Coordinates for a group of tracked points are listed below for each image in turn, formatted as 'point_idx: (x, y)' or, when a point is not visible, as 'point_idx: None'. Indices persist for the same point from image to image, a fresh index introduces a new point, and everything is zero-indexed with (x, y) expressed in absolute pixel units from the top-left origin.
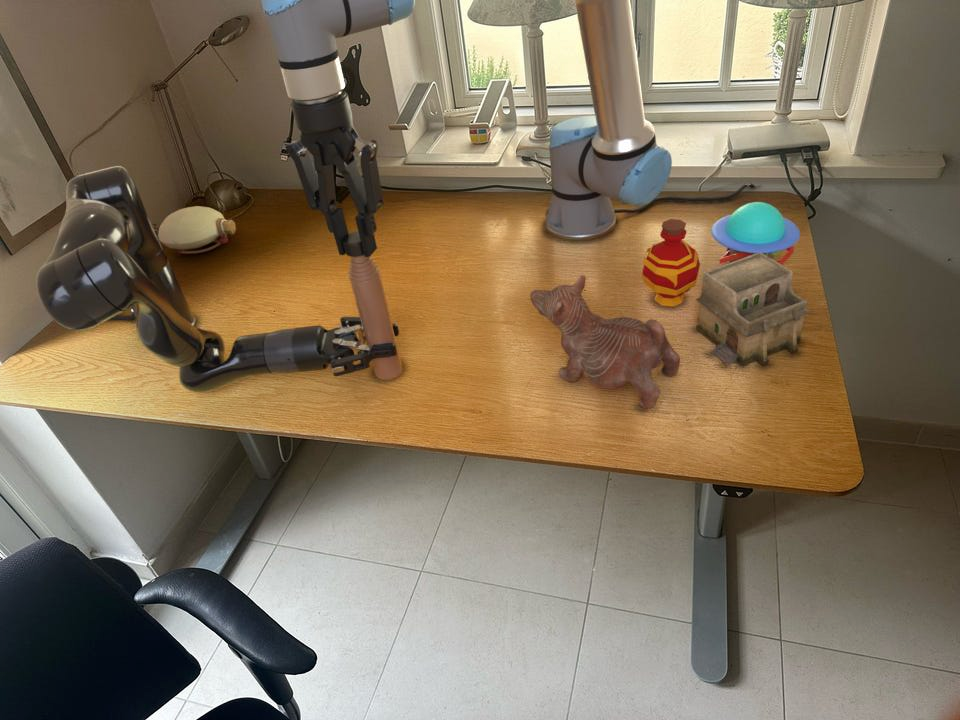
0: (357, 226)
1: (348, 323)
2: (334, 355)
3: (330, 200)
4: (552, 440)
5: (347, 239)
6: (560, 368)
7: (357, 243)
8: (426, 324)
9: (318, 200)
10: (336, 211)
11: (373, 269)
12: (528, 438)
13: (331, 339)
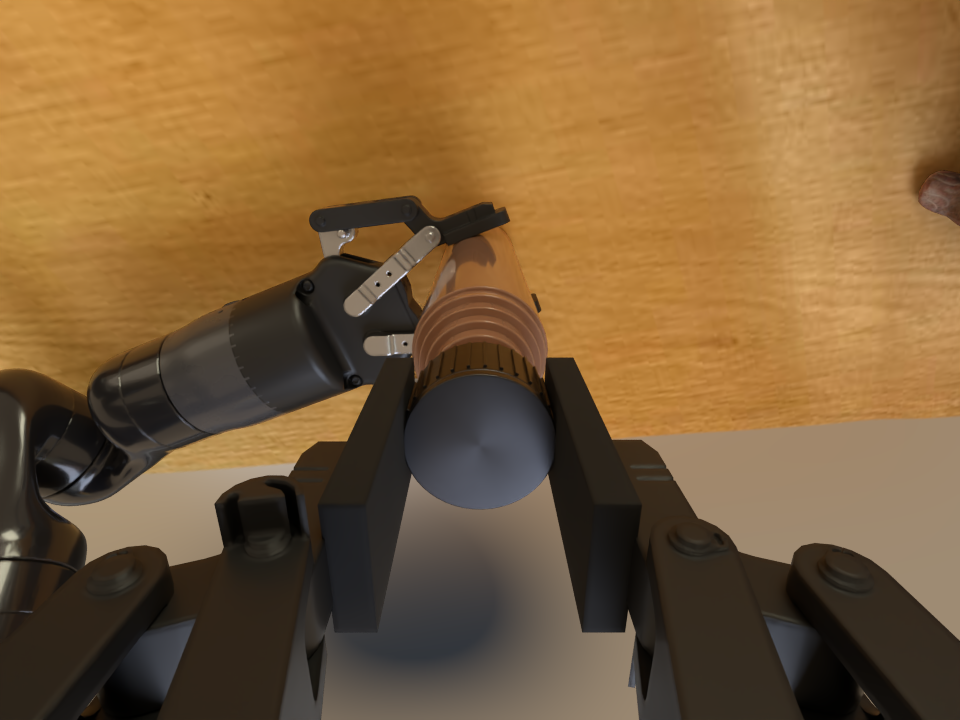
0: (570, 570)
1: (346, 233)
2: None
3: (312, 703)
4: (888, 385)
5: (445, 472)
6: (930, 183)
7: (527, 494)
8: (497, 20)
9: (152, 677)
10: (355, 566)
11: (540, 370)
12: (841, 389)
13: (345, 323)
